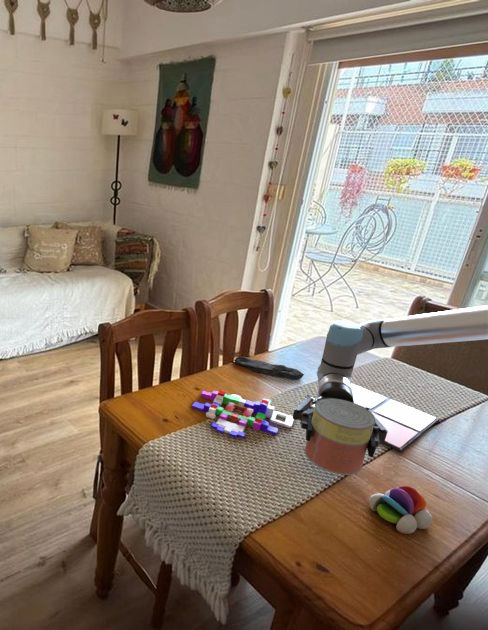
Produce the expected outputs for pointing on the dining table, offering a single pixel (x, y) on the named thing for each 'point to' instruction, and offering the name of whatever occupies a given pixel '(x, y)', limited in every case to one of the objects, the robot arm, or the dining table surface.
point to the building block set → (245, 419)
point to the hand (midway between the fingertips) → (339, 443)
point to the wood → (268, 368)
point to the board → (394, 417)
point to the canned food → (339, 436)
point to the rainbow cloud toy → (402, 509)
